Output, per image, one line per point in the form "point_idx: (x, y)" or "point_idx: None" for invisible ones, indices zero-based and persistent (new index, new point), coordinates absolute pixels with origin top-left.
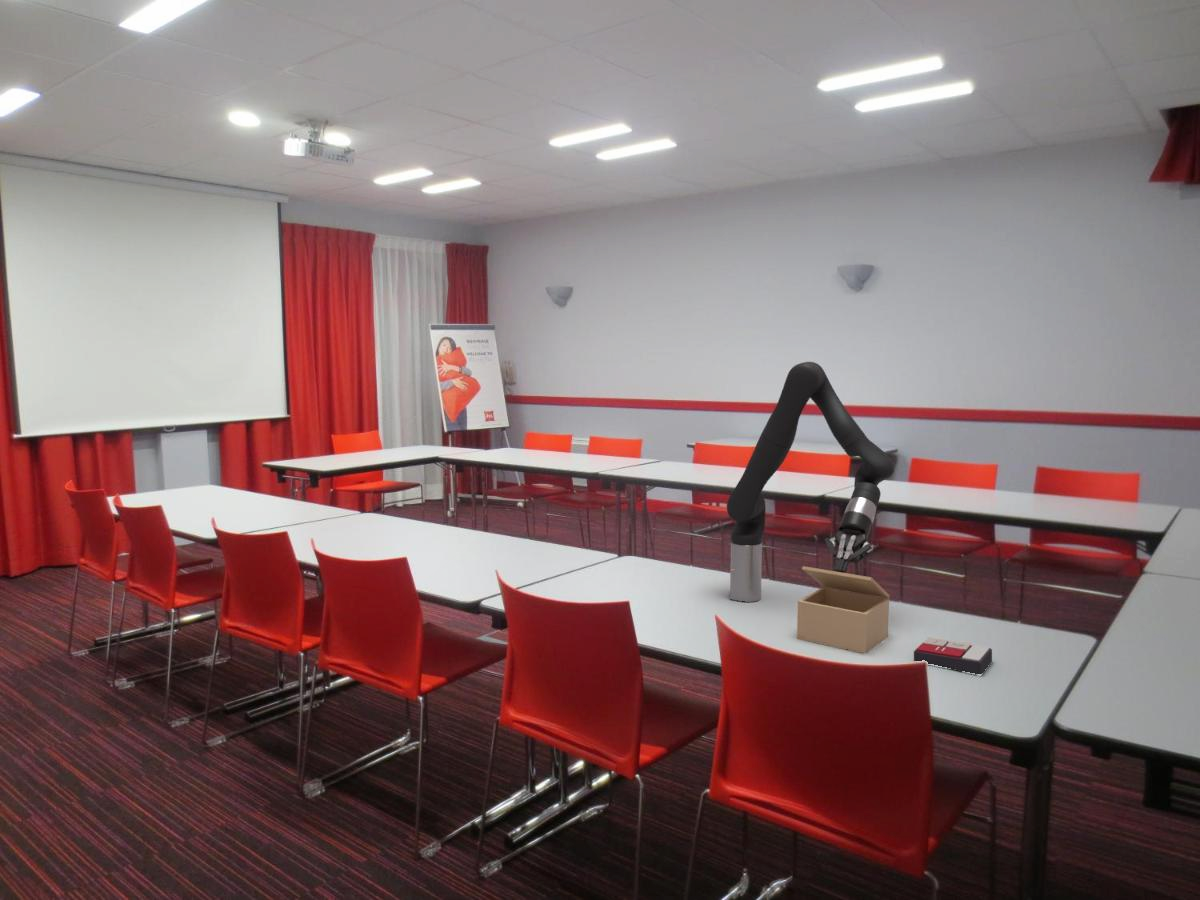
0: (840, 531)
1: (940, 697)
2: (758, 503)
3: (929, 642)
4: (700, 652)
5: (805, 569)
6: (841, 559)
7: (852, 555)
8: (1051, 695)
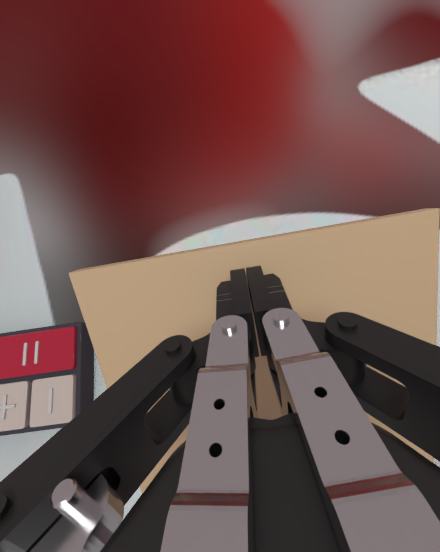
0: None
1: (25, 218)
2: None
3: (61, 384)
4: (390, 93)
5: (406, 212)
6: (256, 309)
7: (180, 345)
8: None
